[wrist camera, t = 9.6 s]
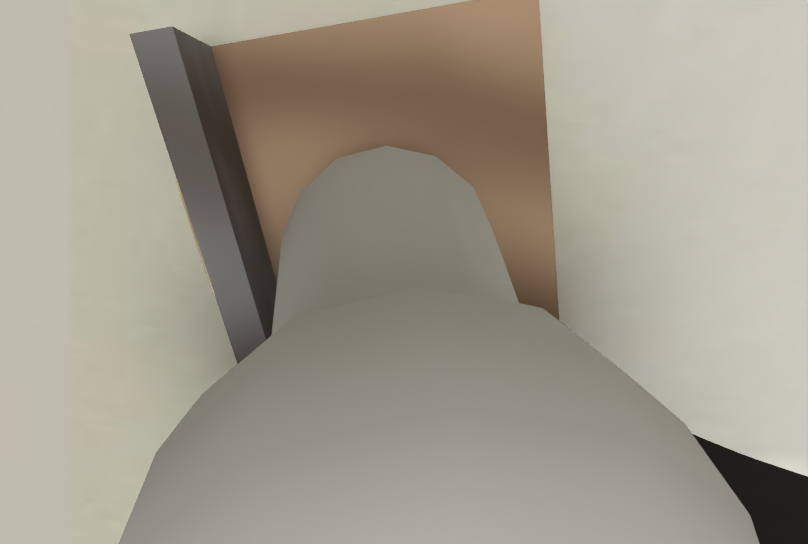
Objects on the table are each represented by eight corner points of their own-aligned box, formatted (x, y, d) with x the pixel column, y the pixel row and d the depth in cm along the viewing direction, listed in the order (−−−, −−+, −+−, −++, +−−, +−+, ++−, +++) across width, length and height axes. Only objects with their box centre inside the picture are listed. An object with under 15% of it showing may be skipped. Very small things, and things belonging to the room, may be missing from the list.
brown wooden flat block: (557, 491, 20) (599, 575, 16) (329, 533, 20) (318, 627, 16) (521, 3, 14) (576, -45, 10) (191, 62, 14) (120, 35, 10)
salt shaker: (426, 339, 16) (615, 1110, 3) (273, 279, 15) (-280, 1074, 2) (504, 190, 14) (1372, 579, 2) (340, 111, 13) (-212, -219, 1)
